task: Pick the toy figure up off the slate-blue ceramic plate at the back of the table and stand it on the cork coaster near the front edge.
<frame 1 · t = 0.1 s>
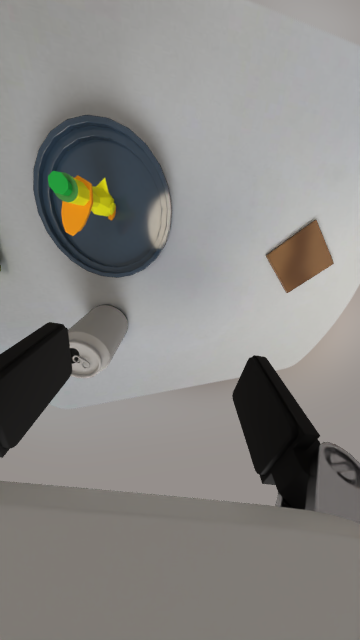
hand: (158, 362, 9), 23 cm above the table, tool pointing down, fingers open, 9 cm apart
plate: (110, 212, 26), on the table
toy figure: (109, 211, 25), resting on plate
coaster: (299, 259, 28), on the table
can: (110, 320, 34), on the table
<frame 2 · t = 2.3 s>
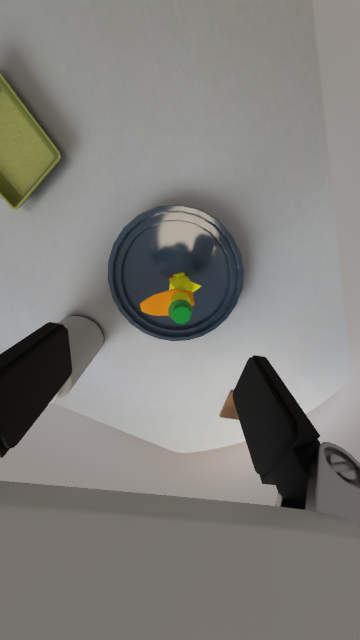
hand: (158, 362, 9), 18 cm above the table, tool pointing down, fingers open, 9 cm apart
plate: (175, 280, 26), on the table
toy figure: (175, 281, 25), resting on plate
coaster: (242, 406, 37), on the table
can: (84, 332, 30), on the table
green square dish: (19, 151, 20), on the table
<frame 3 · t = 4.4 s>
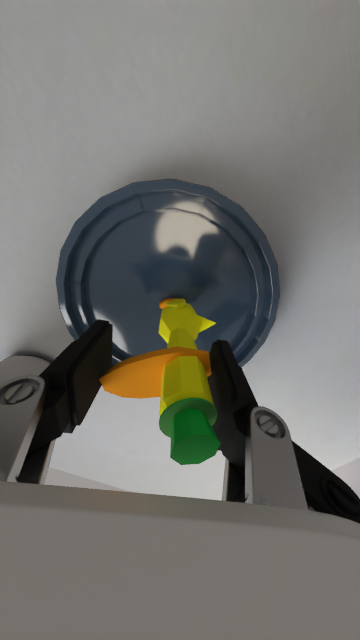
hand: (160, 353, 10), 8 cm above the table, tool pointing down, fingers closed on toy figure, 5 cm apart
plate: (170, 304, 17), on the table
toy figure: (169, 306, 16), resting on plate, touching gripper
can: (40, 374, 21), on the table
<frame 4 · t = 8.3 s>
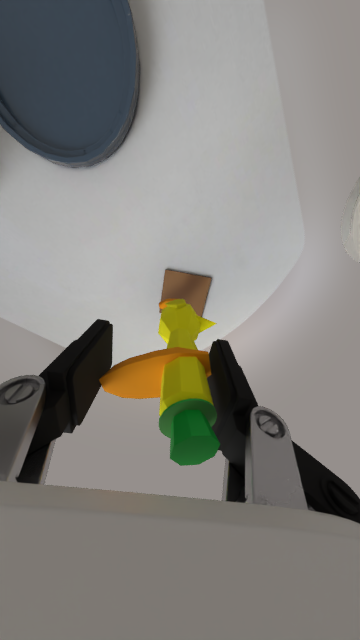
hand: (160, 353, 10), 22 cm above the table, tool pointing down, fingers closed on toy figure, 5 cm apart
plate: (58, 65, 19), on the table
toy figure: (169, 307, 16), point 15 cm above the table, touching gripper
coaster: (184, 295, 31), on the table
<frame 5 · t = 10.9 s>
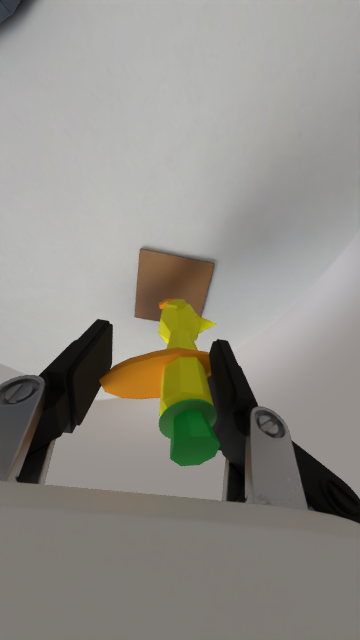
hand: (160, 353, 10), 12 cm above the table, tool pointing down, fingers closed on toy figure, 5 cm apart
toy figure: (169, 307, 16), point 5 cm above the table, touching gripper
coaster: (171, 291, 20), on the table
when the fingers open (7 cm above the table, at t = 12.5 s): toy figure stays where it is, resting on coaster.
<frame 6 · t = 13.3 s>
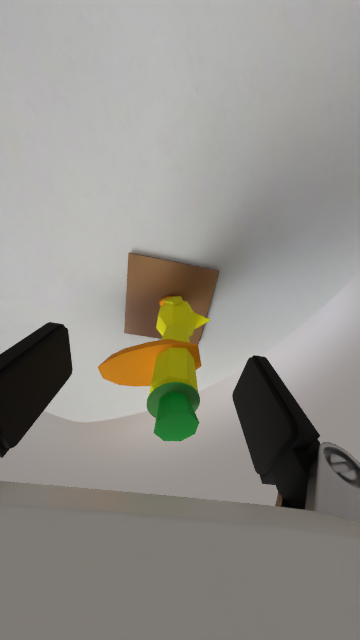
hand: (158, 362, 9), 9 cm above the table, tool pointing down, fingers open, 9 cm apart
toy figure: (169, 304, 17), resting on coaster
coaster: (168, 303, 17), on the table
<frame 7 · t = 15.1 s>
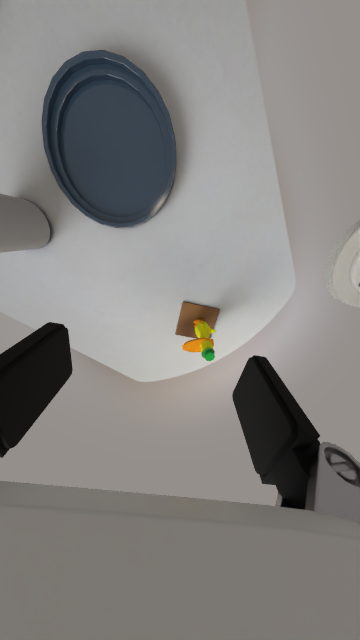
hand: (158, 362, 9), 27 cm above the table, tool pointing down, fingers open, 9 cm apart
plate: (115, 159, 26), on the table
toy figure: (197, 322, 38), resting on coaster
coaster: (196, 321, 38), on the table
can: (32, 225, 30), on the table
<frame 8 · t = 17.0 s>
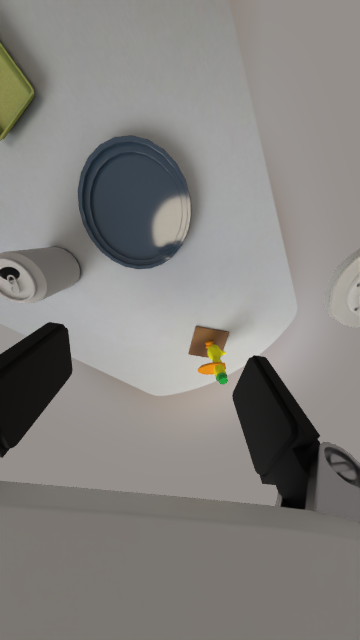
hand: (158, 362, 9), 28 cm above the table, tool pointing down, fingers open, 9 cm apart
plate: (138, 213, 30), on the table
toy figure: (208, 343, 42), resting on coaster
coaster: (207, 342, 42), on the table
can: (63, 266, 35), on the table
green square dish: (1, 91, 24), on the table
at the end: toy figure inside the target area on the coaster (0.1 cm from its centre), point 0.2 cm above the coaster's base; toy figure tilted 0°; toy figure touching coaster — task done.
